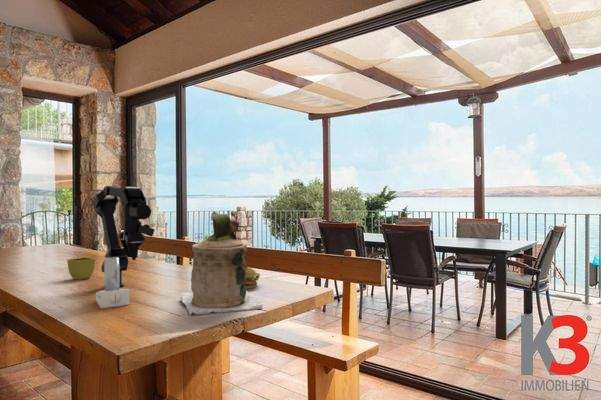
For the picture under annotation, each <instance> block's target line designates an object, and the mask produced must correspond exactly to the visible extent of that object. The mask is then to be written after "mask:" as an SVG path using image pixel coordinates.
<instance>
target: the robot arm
mask: <svg viewBox="0 0 601 400" xmlns="http://www.w3.org/2000/svg"><path fill="white" fill-rule="evenodd" d="M119 200H121V201H122V202H123V203H122V205H121V207H122V208H123V221H122V225H123V231H121V232H119V234H118V229H117V227H116V222H115V216H114V214H115V212H116V209H117V204H118V203H119ZM92 204H93V205H92V206H93V208H94V210H95V213H96V214H97V215H98V216H99V217H100V218H101V223H102V228H103V232H104V233H103V234H104V238H105V243H106V249H107V250H106V253H105V255H104V258H106V257H119V288H120V287H121V288H122V287H125V285H124V283H123V272H124V271H127V270H128V266H129V265H128V264H129V258H131V260H132V261H136V259H137V255H138V252H139V248H140V246H141V245H143V243H145V241H146V239H145V238H146V236H148V237H151V238H153V236H154V233H155V228H153V227H150V226H151V225H149V224H147V223H145V224H144V225H142V222H141V220H148V219H149V218H150V217H151V214H152V210H151V209H152V208H151V207H150V206H149V205H148V204H147V199H146V197H145V194H144V192H143V189H142V188H141V187H140V186H121V187H120V186H116V185H106V186H104V187H103V189H102V190H101V191H99V192H98V193H96V195H95V197H94V199H93V203H92ZM118 235H119V236H118ZM145 235H146V236H145ZM119 239H120V240H119ZM120 242H121V245H122V247H121V245H120ZM101 272H102V273H104V274H105V270H104V261H103V263H102V265H101Z"/></svg>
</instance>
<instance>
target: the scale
mask: <svg viewBox="0 0 601 400" xmlns="http://www.w3.org/2000/svg"><path fill="white" fill-rule="evenodd" d="M119 289H120V290H114V291H105V289H103V290H99V291H96V292H95V298H96V299H95V301H96V303H97V305H98V306H99V308H100V309H105V308H106V309H107V308H113V307H122V306H128V305H130V303H131V302H130V288H119Z"/></svg>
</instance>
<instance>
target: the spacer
mask: <svg viewBox="0 0 601 400" xmlns="http://www.w3.org/2000/svg"><path fill="white" fill-rule="evenodd" d="M103 262H104V270H105V273H104V290H105V291H114V290H120V289H121V288H120V287H119V257H106V258H105V257H104V261H103Z"/></svg>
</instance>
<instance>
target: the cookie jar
mask: <svg viewBox="0 0 601 400" xmlns="http://www.w3.org/2000/svg"><path fill="white" fill-rule="evenodd" d="M210 220H212V228H213V234H212V235H210V236H208V237H207V238H206V239H205V240H203V241H201V242H199V243H195V244H192V245H191V249H192V252H193V257H192V259H193V261H192V269H191V273H190V275H191V278H190V283H191V285H190V288H191V292H181V293H180V299H181V302H182V304H184V306H185V307H186V310H187V311H188V313H189V315H190V316H192V314H195V315H206V314H207V315H208V314H212V313H214V314H215V313H228V312H229V313H230V312H239V311H240V312H241V311H251V310H252V311H253V310H258V309H259V310H260V309H261V308H262V307H263V306H264V302H263V301H262V300H259V299H258V298H257V297H256V296H254V295H253V294H251V293H249V291H248V289H246V288H245V285H244V278H245V275H246V270H247V267H248V264H247V263H248V256H247V254H246V252H247V251H248V247H247V246H248V245H247V244H246V243H243V242H242V241H241V240H239V239H238V238H237V235H236V233H235V232H237V231H238V230H239V226H240V222H239V221H238V220H234V219H231V218H230V216H229V215H228V214H226V213H218V212H216V211H212V212H211V216H210Z"/></svg>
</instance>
